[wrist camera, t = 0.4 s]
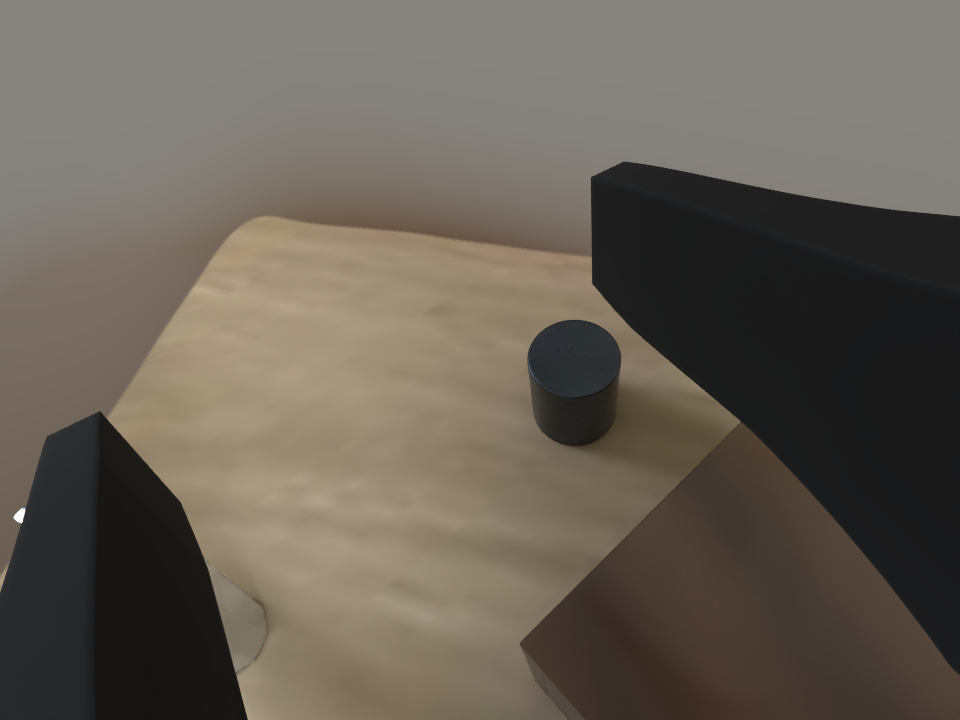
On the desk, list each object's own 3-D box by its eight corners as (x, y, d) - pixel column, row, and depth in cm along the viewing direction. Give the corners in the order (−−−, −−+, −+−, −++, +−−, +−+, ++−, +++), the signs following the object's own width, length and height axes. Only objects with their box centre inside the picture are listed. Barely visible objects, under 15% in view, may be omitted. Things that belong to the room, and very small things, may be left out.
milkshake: (221, 547, 29) (79, 453, 21) (306, 620, 27) (184, 547, 19) (142, 637, 28) (-48, 574, 19) (225, 722, 25) (51, 693, 17)
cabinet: (745, 461, 28) (793, 368, 22) (1043, 694, 23) (1225, 660, 16) (533, 678, 25) (518, 643, 18) (823, 1019, 19) (945, 1137, 13)
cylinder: (633, 408, 30) (640, 356, 27) (574, 462, 29) (574, 415, 26) (573, 360, 32) (572, 304, 28) (516, 408, 31) (508, 357, 27)
